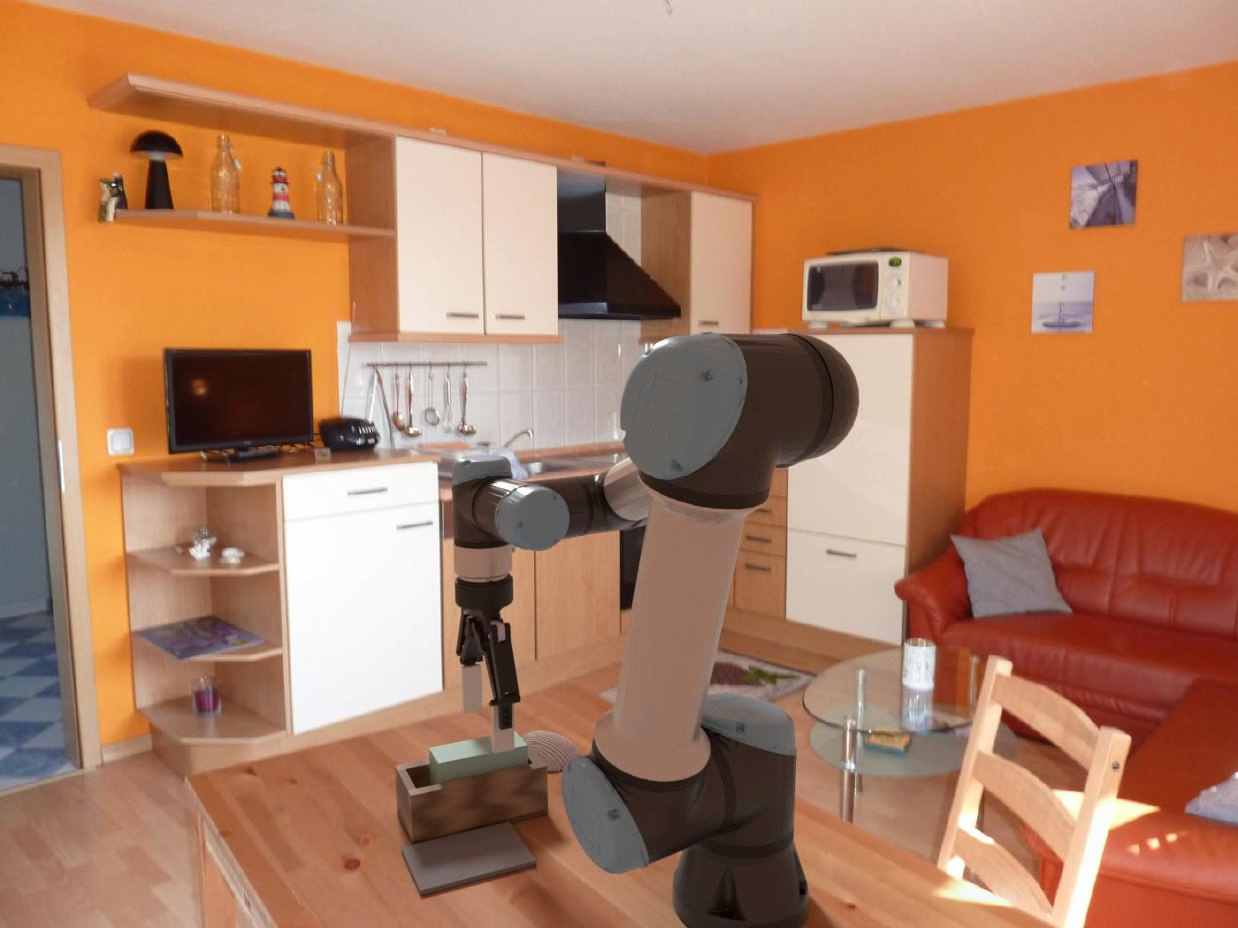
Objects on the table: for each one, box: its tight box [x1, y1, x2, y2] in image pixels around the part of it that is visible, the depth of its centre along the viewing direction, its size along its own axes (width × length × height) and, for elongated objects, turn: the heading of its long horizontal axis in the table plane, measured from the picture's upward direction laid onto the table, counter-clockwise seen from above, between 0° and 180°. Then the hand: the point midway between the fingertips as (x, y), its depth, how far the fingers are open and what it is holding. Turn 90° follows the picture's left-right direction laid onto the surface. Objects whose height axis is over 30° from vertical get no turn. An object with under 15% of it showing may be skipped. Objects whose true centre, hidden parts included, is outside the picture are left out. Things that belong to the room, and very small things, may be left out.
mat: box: [400, 822, 537, 896], centre depth 112 cm, size 10×14×1 cm
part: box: [428, 730, 528, 785], centre depth 122 cm, size 12×5×5 cm, turn 115°
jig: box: [394, 740, 549, 845], centre depth 122 cm, size 18×9×7 cm, turn 115°
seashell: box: [520, 730, 582, 773], centre depth 140 cm, size 10×6×10 cm
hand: (487, 729), depth 123 cm, fingers open, 13 cm apart
